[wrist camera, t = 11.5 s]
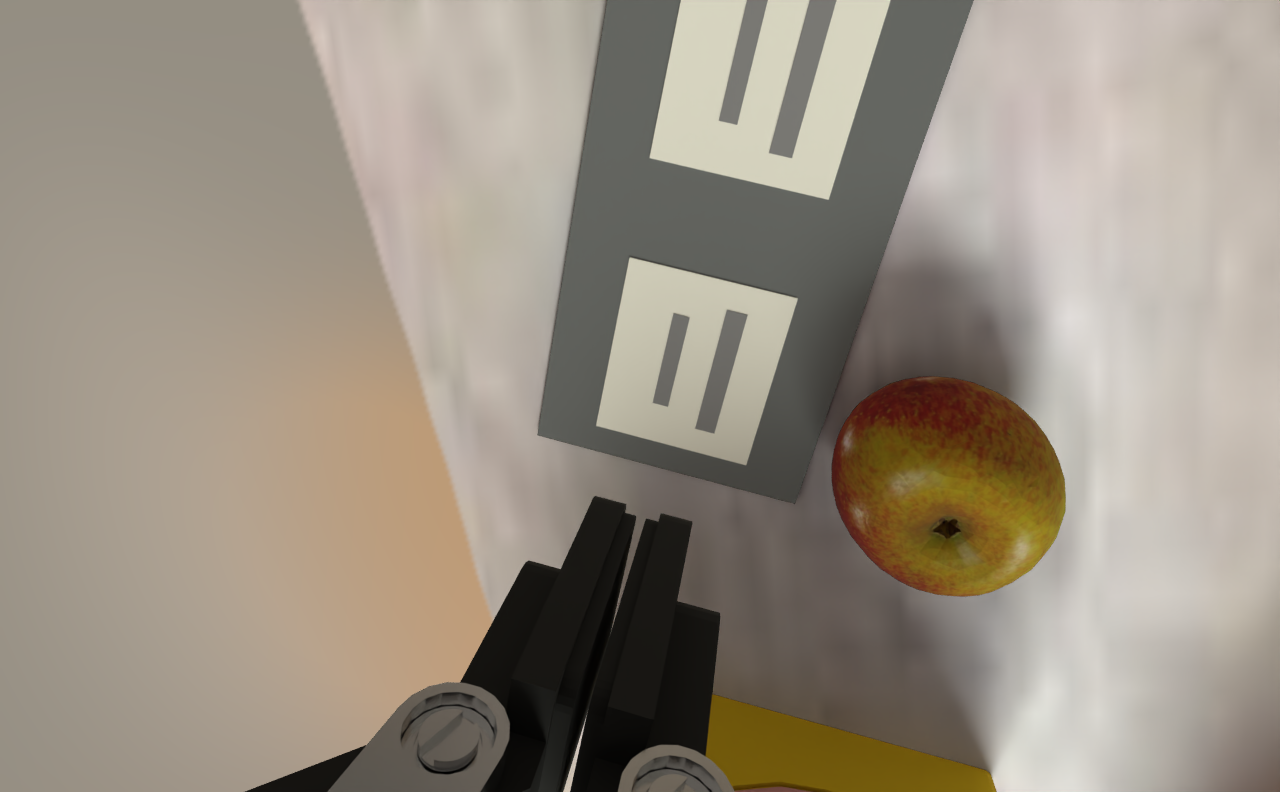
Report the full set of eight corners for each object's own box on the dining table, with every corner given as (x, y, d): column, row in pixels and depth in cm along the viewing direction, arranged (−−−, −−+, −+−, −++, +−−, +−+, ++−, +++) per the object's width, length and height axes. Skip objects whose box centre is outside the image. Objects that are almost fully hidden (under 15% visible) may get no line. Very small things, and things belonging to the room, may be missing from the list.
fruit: (783, 443, 35) (788, 531, 28) (923, 313, 31) (970, 375, 24) (920, 556, 36) (959, 670, 29) (1069, 443, 32) (1157, 541, 25)
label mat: (634, -157, 26) (632, -162, 26) (1001, -84, 25) (1005, -87, 25) (539, 432, 37) (536, 436, 37) (794, 500, 36) (795, 505, 36)
